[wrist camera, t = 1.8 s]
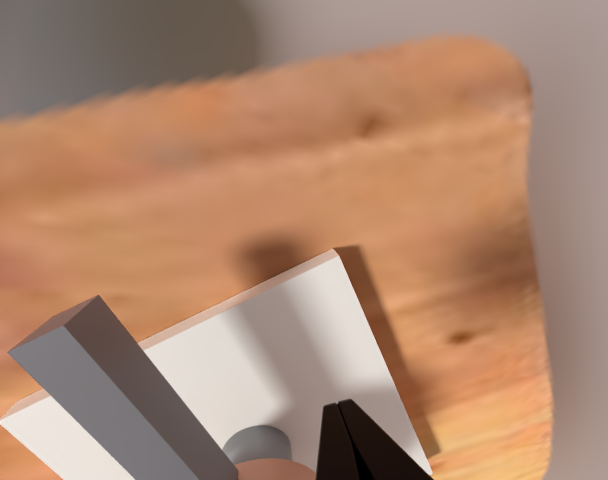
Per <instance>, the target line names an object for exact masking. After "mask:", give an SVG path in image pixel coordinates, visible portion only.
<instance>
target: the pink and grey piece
mask: <svg viewBox="0 0 608 480" xmlns="http://www.w3.org/2000/svg"><path fill="white" fill-rule="evenodd" d="M7 353H8V354H9V355H10V356H11V357H12V358H13V359H14V360H15V361H17V362H18V363H19V364H20V365H21V366H22V367H23V368H24V369H25V370H26V371H27V372H28V373H29V374H30V375H31V376H32V377H33V378H34V379H35V380H36V381H37V382H38V383H39V384H40V385H41V386H42V387H43V388H44V389H45V390H46V391H47V392H48V393H49V394H50V395H51V396H52V397H53V398H54V399H55V400H56V401H57V402H58V403H59V404H60V405H61V406H62V407H63V408H64V409H65V410H66V411H67V412H68V413H69V414H70V415H71V416H72V417H73V418H74V419H75V420H76V421H77V422H78V423H79V424H80V425H81V426H82V427H83V428H84V429H85V430H86V431H87V432H88V433H89V434H90V435H91V436H92V437H93V438H94V439H95V440H96V441H97V442H98V443H99V444H100V445H101V446H102V447H103V448H104V449H105V450H106V451H107V452H108V453H109V454H110V455H111V456H112V457H113V458H114V459H115V460H116V461H117V462H118V463H119V464H120V465H121V466H122V467H123V468H124V469H125V470H126V471H127V472H128V473H129V474H130V475H131V476H132V477H133V478H134V479H135V480H315V477H316V473H315V472H314V471H313V470H311V469H310V468H308V467H307V466H305V465H302V464H300V463H297V462H294V461H291V460H285V459H274V458H268V459H256V460H250V461H246V462H242V463H238V464H236V465H234V464H233V463H232V462H231V461H230V459H229V458H228V457H227V456H226V454H225V453H224V452H223V451H222V449H221V448H220V447H219V446H218V444H217V443H216V442H215V440H214V439H213V438H212V437H211V435H210V434H209V433H208V432H207V430H206V429H205V428H204V427H203V425H202V424H201V423H200V422H199V420H198V419H197V418H196V417H195V415H194V414H193V413H192V412H191V410H190V409H189V408H188V406H187V405H186V404H185V403H184V401H183V400H182V399H181V398H180V396H179V395H178V394H177V393H176V391H175V390H174V389H173V388H172V386H171V385H170V384H169V383H168V381H167V380H166V379H165V378H164V376H163V375H162V374H161V373H160V371H159V370H158V369H157V367H156V366H155V365H154V364H153V362H152V361H151V360H150V359H149V357H148V356H147V355H146V354H145V352H144V351H143V350H142V349H141V347H140V346H139V345H138V344H137V342H136V341H135V340H134V339H133V337H132V336H131V335H130V333H129V332H128V331H127V330H126V328H125V327H124V326H123V325H122V323H121V322H120V321H119V320H118V318H117V317H116V316H115V315H114V313H113V312H112V311H111V310H110V308H109V307H108V306H107V305H106V303H105V302H104V301H103V300H102V298H101V297H100V296H99V295H97V296H95V297H93V298H91V299H89V300H87V301H85V302H82V303H80V304H78V305H76V306H74V307H72V308H70V309H68V310H66V311H64V312H61V313H59V314H57V315H55V316H53V317H52V318H51V319H49V320H48V321H47V322H45V323H44V324H43V325H42V326H40V327H39V328H38V329H36V330H35V331H34V332H33V333H31V334H30V335H29V336H28V337H26V338H25V339H24V340H22V341H21V342H20V343H19V344H17V345H16V346H15V347H13V348H12V349H11V350H10V351H8V352H7Z"/></svg>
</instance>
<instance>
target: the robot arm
mask: <svg viewBox="0 0 608 480" xmlns="http://www.w3.org/2000/svg"><path fill="white" fill-rule="evenodd" d="M315 480H434V479H433V478H432V477H431V476H430V475H429V474H428V473H426V472H425V471H424V470H423V469H422V468H421V467H420V466H419V465H418V464H417V463H416V462H415V461H414V460H413V459H412V458H411V457H410V456H409V455H408V454H407V453H406V452H405V451H404V450H403V449H402V448H401V447H400V446H399V445H398V444H397V443H396V442H395V441H394V440H393V439H392V438H391V437H390V436H389V435H388V434H387V433H386V432H385V431H384V430H383V429H382V428H381V427H380V426H379V425H378V424H377V423H376V422H375V421H374V420H373V419H372V418H371V417H370V416H369V415H368V414H367V413H366V412H365V411H364V410H363V409H362V408H361V407H360V406H359V405H358V404H356V403H355V402H354V401H353V400H352V399H350V398H349V399H345V400H341V401H339V402H338V404H337V403H336V402H334V403H330V404H327V405H324V406H323V410H322V420H321V429H320V439H319V448H318V458H317V467H316V477H315Z"/></svg>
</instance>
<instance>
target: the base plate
mask: <svg viewBox="0 0 608 480" xmlns="http://www.w3.org/2000/svg"><path fill="white" fill-rule="evenodd" d="M137 344H138V345H139V346H140V347H141V349H142V350H143V351H144V352H145V354H146V355H147V356H148V357H149V359H150V360H151V361H152V362H153V364H154V365H155V366H156V367H157V369H158V370H159V371H160V373H161V374H162V375H163V376H164V378H165V379H166V380H167V381H168V383H169V384H170V385H171V386H172V388H173V389H174V390H175V391H176V393H177V394H178V395H179V396H180V398H181V399H182V400H183V401H184V403H185V404H186V405H187V406H188V408H189V409H190V410H191V412H192V413H193V414H194V415H195V417H196V418H197V419H198V420H199V422H200V423H201V424H202V425H203V427H204V428H205V429H206V430H207V432H208V433H209V434H210V435H211V437H212V438H213V439H214V440H215V442H216V443H217V444H218V446H219V447H220V448H221V449H222V451H223V452H224V453H225V454H226V456H227V457H228V458H229V459H230V461H231V462H232V463H233V464H234V465H236V464H238V463H242V462H246V461H250V460H256V459H268V458H274V459H285V460H291V461H294V462H297V463H300V464H302V465H305V466H307V467H308V468H310V469H311V470H313V471H314V472H315V473H316V467H317V458H318V448H319V439H320V429H321V420H322V410H323V406H324V405H327V404H330V403H334V402H336V403H337V404H338V402H339V401H341V400H345V399H349V398H350V399H352V400H353V401H354V402H355V403H356V404H358V405H359V406H360V407H361V408H362V409H363V410H364V411H365V412H366V413H367V414H368V415H369V416H370V417H371V418H372V419H373V420H374V421H375V422H376V423H377V424H378V425H379V426H380V427H381V428H382V429H383V430H384V431H385V432H386V433H387V434H388V435H389V436H390V437H391V438H392V439H393V440H394V441H395V442H396V443H397V444H398V445H399V446H400V447H401V448H402V449H403V450H404V451H405V452H406V453H407V454H408V455H409V456H410V457H411V458H412V459H413V460H414V461H415V462H416V463H417V464H418V465H419V466H420V467H421V468H422V469H423V470H424V471H425V472H426V473H428V474H429V475H431V474H433V472H432V470H431V468H430V465H429V463H428V461H427V458H426V456H425V454H424V451H423V449H422V447H421V444H420V442H419V440H418V437H417V435H416V433H415V430H414V428H413V426H412V423H411V421H410V419H409V417H408V414H407V412H406V410H405V407H404V405H403V403H402V400H401V398H400V396H399V393H398V391H397V389H396V386H395V384H394V382H393V379H392V377H391V375H390V372H389V370H388V368H387V366H386V363H385V361H384V359H383V356H382V354H381V352H380V349H379V347H378V345H377V342H376V340H375V338H374V335H373V333H372V331H371V328H370V326H369V324H368V321H367V319H366V317H365V315H364V312H363V310H362V308H361V305H360V303H359V301H358V298H357V296H356V294H355V291H354V289H353V287H352V284H351V282H350V280H349V277H348V275H347V273H346V270H345V268H344V266H343V264H342V261H341V259H340V257H339V255H338V254H337V253H336V251H335V250H334V249H333V248H332V249H330V250H328V251H326V252H324V253H322V254H320V255H318V256H316V257H314V258H312V259H310V260H308V261H306V262H303V263H301V264H299V265H297V266H295V267H293V268H291V269H289V270H287V271H285V272H283V273H281V274H279V275H277V276H275V277H272V278H270V279H268V280H266V281H264V282H262V283H260V284H258V285H256V286H254V287H252V288H250V289H248V290H246V291H244V292H241V293H239V294H237V295H235V296H233V297H231V298H229V299H227V300H225V301H223V302H221V303H219V304H217V305H215V306H213V307H211V308H208V309H206V310H204V311H202V312H200V313H198V314H196V315H194V316H192V317H190V318H188V319H186V320H184V321H182V322H180V323H177V324H175V325H173V326H171V327H169V328H167V329H165V330H163V331H161V332H159V333H157V334H155V335H153V336H151V337H149V338H147V339H144V340H142V341H140V342H138V343H137ZM0 424H1V425H2V426H3V427H4V428H5V429H6V430H8V431H9V432H10V433H11V434H12V435H13V436H14V437H16V438H17V439H18V440H19V441H20V442H21V443H22V444H24V445H25V446H26V447H27V448H28V449H29V450H30V451H32V452H33V453H34V454H35V455H36V456H37V457H38V458H40V459H41V460H42V461H43V462H44V463H45V464H46V465H47V466H49V467H50V468H51V469H52V470H53V471H54V472H55V473H57V474H58V475H59V476H60V477H61V478H62V479H63V480H135V479H134V478H133V477H132V476H131V475H130V474H129V473H128V472H127V471H126V470H125V469H124V468H123V467H122V466H121V465H120V464H119V463H118V462H117V461H116V460H115V459H114V458H113V457H112V456H111V455H110V454H109V453H108V452H107V451H106V450H105V449H104V448H103V447H102V446H101V445H100V444H99V443H98V442H97V441H96V440H95V439H94V438H93V437H92V436H91V435H90V434H89V433H88V432H87V431H86V430H85V429H84V428H83V427H82V426H81V425H80V424H79V423H78V422H77V421H76V420H75V419H74V418H73V417H72V416H71V415H70V414H69V413H68V412H67V411H66V410H65V409H64V408H63V407H62V406H61V405H60V404H59V403H58V402H57V401H56V400H55V399H54V398H53V397H52V396H51V395H50V394H49V393H48V392H47V391H46V390H45V389H44V388H43V389H41V390H39V391H37V392H35V393H33V394H31V395H29V396H27V397H25V398H23V399H21V400H19V401H17V402H16V403H15V404H14V405H13V406H12V407H11V408H10V409H9V410H8V411H7V412H6V413H5V414H4V415H3V416H2V417H1V418H0Z"/></svg>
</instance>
